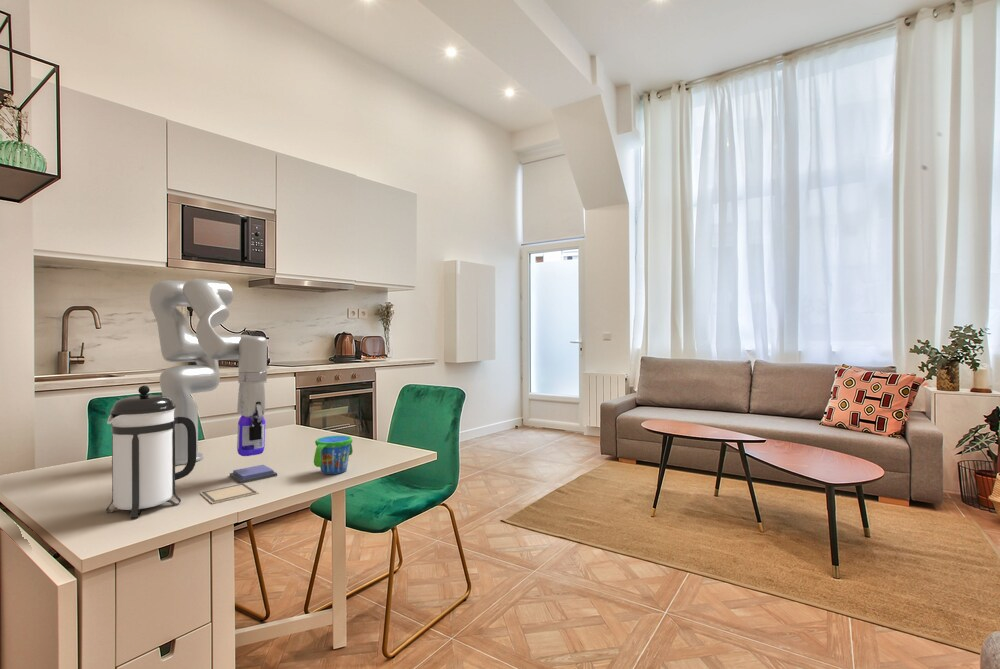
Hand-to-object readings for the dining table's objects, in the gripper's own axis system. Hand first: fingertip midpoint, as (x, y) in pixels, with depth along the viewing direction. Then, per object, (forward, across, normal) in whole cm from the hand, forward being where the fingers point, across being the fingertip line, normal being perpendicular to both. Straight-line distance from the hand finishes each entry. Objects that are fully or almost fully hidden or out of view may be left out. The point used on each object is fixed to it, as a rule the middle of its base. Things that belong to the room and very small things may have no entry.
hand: (251, 437), depth 143 cm
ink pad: (+11, +1, 0) cm, 12 cm away
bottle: (+5, 0, 0) cm, 5 cm away
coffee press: (+12, +9, -26) cm, 30 cm away
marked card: (+11, +13, -10) cm, 20 cm away
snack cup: (+11, +14, +19) cm, 26 cm away
